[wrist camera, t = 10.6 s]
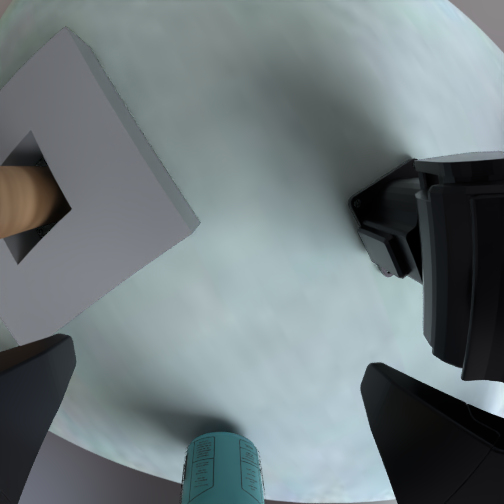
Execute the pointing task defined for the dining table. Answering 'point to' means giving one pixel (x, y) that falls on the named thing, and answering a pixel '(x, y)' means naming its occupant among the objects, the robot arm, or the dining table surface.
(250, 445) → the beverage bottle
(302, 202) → the dining table surface
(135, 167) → the socket
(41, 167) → the peg
